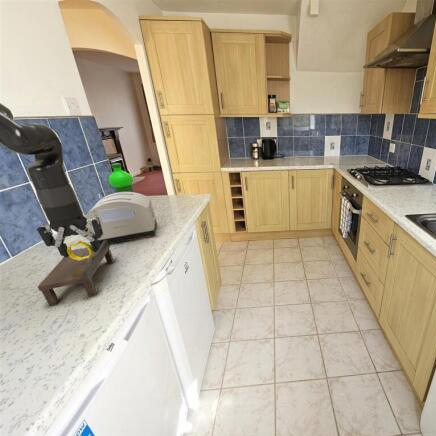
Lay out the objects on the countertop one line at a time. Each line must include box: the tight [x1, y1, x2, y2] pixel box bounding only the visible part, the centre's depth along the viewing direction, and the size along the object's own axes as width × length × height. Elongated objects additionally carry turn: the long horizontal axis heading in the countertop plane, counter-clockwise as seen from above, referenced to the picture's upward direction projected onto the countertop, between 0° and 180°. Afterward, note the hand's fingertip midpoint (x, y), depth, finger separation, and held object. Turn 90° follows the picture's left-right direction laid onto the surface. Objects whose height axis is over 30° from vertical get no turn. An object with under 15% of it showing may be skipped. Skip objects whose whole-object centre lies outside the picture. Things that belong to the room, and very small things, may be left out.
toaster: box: [84, 192, 158, 245], centre depth 105 cm, size 23×25×17 cm
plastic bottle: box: [108, 162, 135, 193], centre depth 130 cm, size 10×10×25 cm
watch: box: [67, 239, 93, 261], centre depth 73 cm, size 6×3×6 cm, turn 103°
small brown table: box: [37, 240, 115, 307], centre depth 75 cm, size 11×20×8 cm, turn 21°
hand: (82, 253), depth 73 cm, fingers open, 6 cm apart
